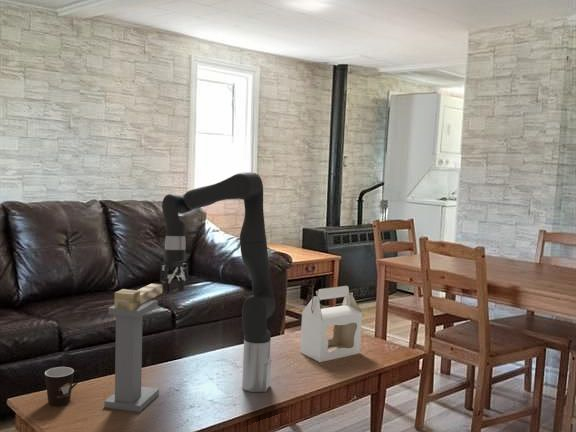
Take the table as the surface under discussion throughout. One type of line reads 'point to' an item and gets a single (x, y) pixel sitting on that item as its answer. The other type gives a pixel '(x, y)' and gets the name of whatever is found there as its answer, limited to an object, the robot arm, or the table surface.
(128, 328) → the grey stand
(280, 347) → the table surface
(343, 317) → the gable box
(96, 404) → the table surface
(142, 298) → the beech bar
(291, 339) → the table surface
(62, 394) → the coffee mug
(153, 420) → the table surface
